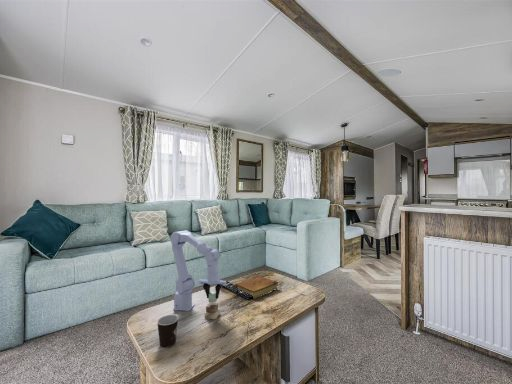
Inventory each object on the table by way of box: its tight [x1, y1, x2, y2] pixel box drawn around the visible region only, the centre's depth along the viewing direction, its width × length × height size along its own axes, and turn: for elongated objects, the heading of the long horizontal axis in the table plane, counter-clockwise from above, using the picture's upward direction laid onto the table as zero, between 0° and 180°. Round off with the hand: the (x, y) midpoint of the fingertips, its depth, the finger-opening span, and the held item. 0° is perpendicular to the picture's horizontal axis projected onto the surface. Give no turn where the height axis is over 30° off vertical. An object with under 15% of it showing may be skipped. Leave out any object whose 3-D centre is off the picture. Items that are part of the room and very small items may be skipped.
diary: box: [234, 275, 279, 300], centre depth 161 cm, size 23×19×6 cm
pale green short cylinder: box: [208, 291, 218, 303], centre depth 127 cm, size 4×4×4 cm
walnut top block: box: [205, 302, 219, 313], centre depth 127 cm, size 5×5×3 cm
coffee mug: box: [156, 314, 179, 348], centre depth 105 cm, size 12×9×10 cm
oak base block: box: [204, 307, 221, 320], centre depth 127 cm, size 6×6×3 cm
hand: (212, 297), depth 127 cm, fingers closed on pale green short cylinder, 4 cm apart
